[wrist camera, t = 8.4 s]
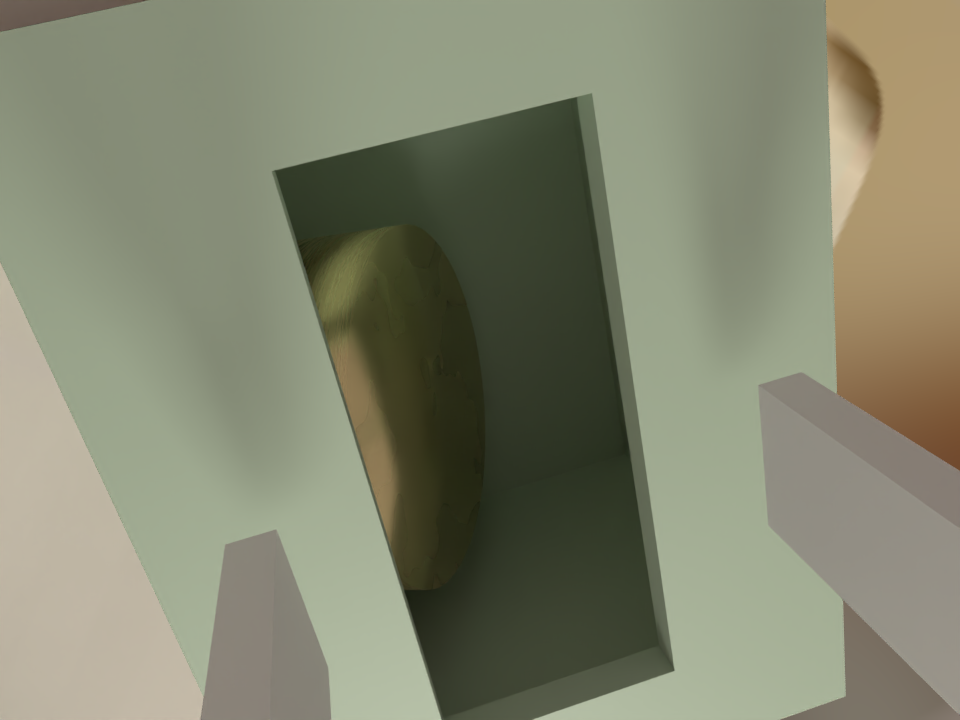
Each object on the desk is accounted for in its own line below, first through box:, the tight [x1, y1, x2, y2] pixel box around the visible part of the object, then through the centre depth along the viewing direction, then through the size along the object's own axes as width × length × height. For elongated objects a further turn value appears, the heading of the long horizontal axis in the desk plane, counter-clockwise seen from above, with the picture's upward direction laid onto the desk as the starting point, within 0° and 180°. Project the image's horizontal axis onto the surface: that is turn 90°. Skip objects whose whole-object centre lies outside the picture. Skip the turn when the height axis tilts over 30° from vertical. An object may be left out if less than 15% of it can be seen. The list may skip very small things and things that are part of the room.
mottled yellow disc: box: [296, 224, 485, 590], centre depth 20 cm, size 3×9×9 cm
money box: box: [0, 0, 845, 720], centre depth 20 cm, size 17×13×12 cm
